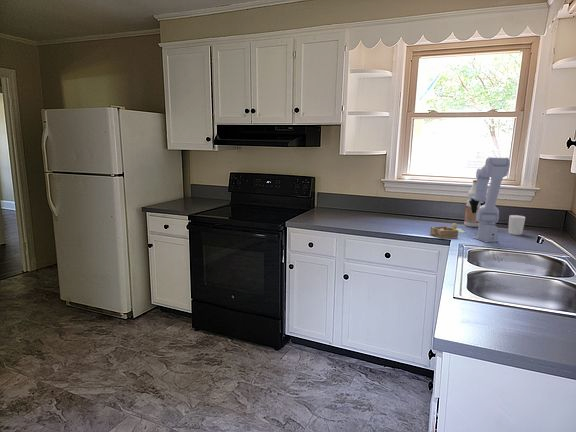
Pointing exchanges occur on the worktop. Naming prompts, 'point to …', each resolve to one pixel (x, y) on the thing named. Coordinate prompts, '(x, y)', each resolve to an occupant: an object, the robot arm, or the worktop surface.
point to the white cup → (516, 224)
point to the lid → (457, 228)
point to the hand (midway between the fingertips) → (478, 214)
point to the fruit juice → (469, 216)
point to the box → (444, 232)
